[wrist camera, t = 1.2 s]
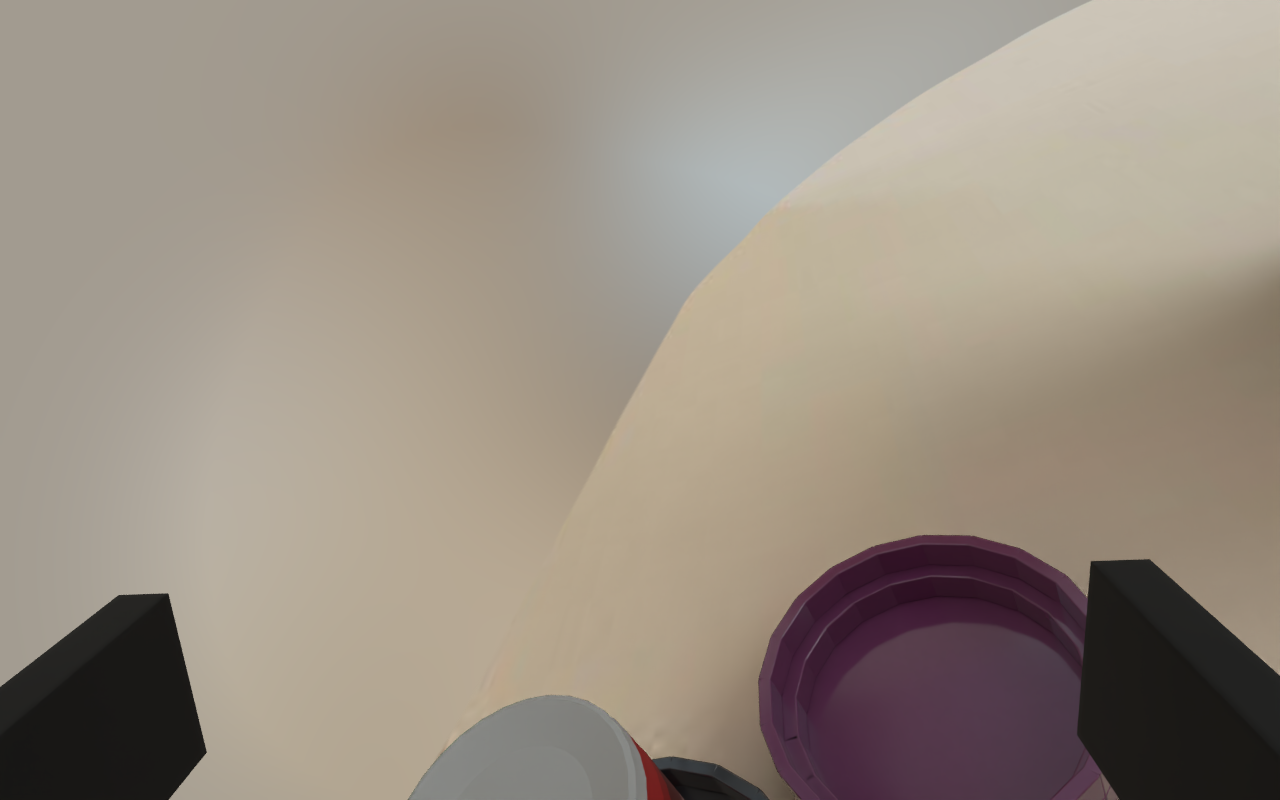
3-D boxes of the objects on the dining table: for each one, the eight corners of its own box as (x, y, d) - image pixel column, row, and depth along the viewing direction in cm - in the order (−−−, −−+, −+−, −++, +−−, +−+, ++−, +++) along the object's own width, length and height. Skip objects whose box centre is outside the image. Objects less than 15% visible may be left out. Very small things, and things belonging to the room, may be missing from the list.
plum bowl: (936, 534, 38) (920, 489, 36) (1218, 711, 28) (1212, 660, 26) (726, 721, 36) (699, 681, 34) (953, 986, 26) (930, 949, 24)
